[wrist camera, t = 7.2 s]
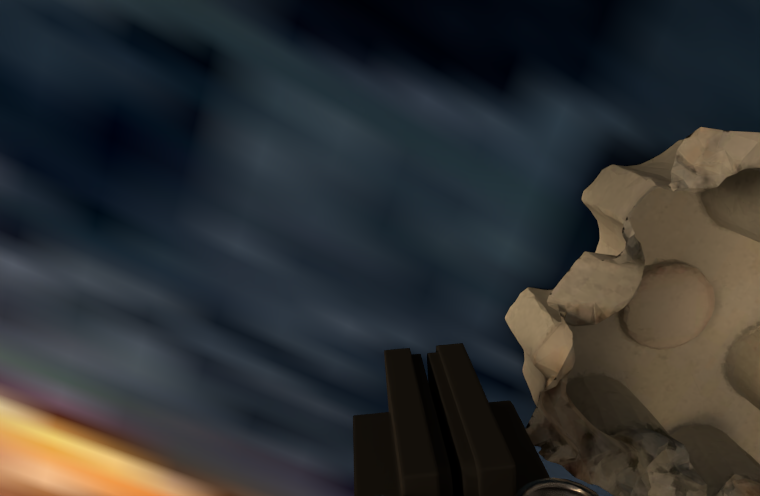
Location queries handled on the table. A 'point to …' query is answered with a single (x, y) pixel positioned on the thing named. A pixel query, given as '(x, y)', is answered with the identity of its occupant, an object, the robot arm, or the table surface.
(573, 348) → the tan cratered rock
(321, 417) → the table surface
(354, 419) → the robot arm
